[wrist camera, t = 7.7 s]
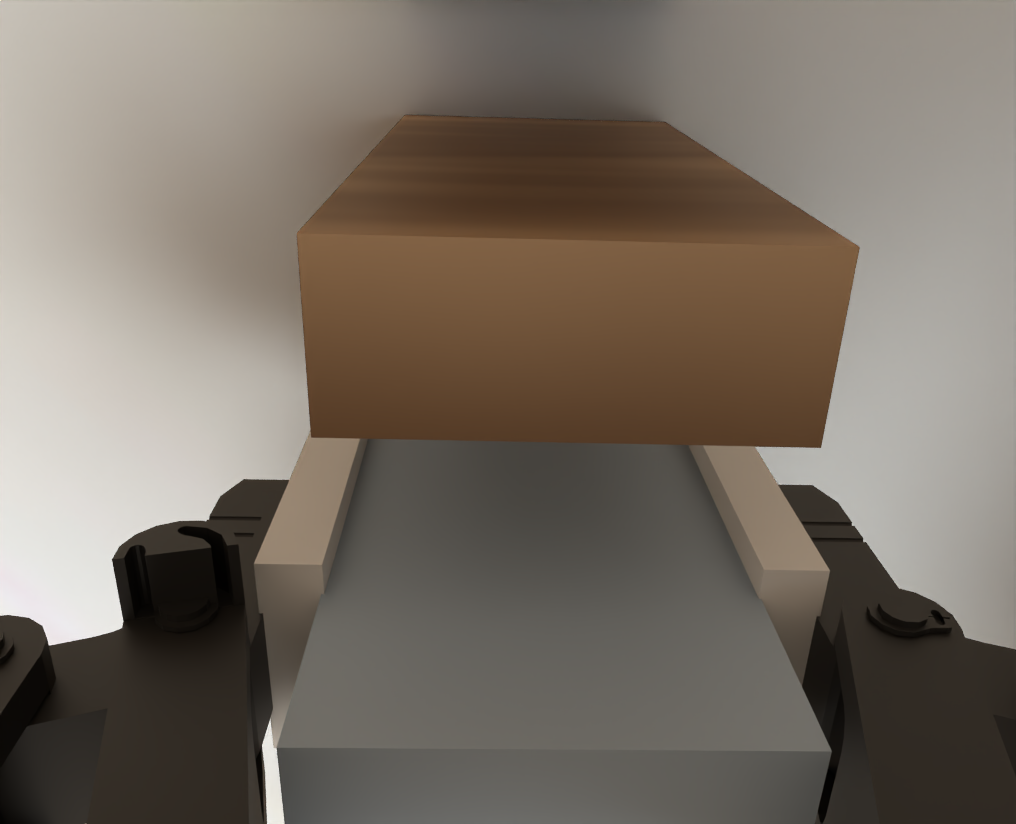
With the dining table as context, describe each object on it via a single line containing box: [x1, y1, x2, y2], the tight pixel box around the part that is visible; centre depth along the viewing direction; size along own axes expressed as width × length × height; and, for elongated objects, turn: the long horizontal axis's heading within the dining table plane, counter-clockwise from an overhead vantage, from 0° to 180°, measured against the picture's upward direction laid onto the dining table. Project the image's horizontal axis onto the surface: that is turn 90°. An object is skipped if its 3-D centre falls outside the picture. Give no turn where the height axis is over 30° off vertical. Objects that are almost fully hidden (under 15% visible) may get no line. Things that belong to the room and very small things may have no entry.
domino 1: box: [297, 115, 860, 448], centre depth 13 cm, size 2×5×10 cm, turn 89°
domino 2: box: [277, 439, 832, 824], centre depth 13 cm, size 2×5×10 cm, turn 89°
